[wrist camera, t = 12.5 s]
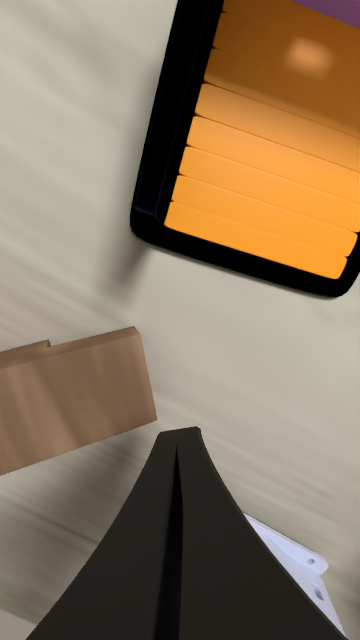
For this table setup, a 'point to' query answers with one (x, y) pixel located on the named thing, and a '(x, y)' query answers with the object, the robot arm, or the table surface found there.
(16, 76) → the table surface
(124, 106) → the table surface
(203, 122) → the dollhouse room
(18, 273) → the table surface
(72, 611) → the robot arm
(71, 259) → the table surface
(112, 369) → the domino
